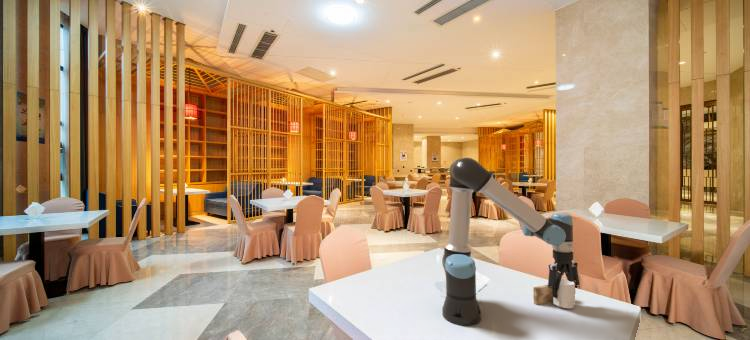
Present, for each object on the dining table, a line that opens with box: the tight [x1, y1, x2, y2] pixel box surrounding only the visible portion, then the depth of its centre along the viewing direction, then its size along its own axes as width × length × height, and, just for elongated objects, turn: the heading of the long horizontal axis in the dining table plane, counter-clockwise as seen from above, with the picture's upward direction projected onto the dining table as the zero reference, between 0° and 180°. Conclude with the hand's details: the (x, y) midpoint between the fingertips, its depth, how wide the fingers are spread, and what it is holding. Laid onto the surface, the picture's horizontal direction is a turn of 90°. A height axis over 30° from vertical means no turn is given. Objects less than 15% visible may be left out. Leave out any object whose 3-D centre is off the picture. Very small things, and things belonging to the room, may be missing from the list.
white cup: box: [555, 278, 576, 310], centre depth 124 cm, size 8×8×10 cm
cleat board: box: [532, 284, 553, 306], centre depth 128 cm, size 16×4×7 cm, turn 107°
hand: (564, 303), depth 124 cm, fingers closed on white cup, 7 cm apart
